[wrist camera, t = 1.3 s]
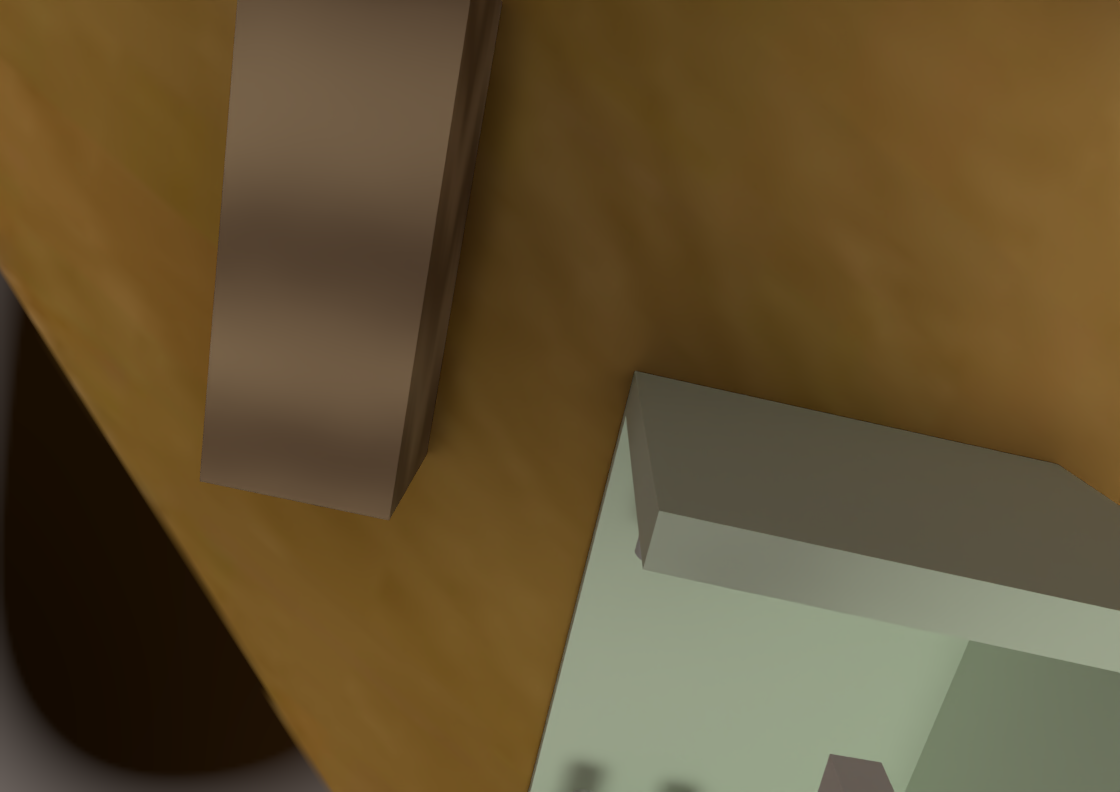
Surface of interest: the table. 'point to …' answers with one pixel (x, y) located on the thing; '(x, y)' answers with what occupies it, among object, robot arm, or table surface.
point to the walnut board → (341, 242)
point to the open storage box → (834, 610)
